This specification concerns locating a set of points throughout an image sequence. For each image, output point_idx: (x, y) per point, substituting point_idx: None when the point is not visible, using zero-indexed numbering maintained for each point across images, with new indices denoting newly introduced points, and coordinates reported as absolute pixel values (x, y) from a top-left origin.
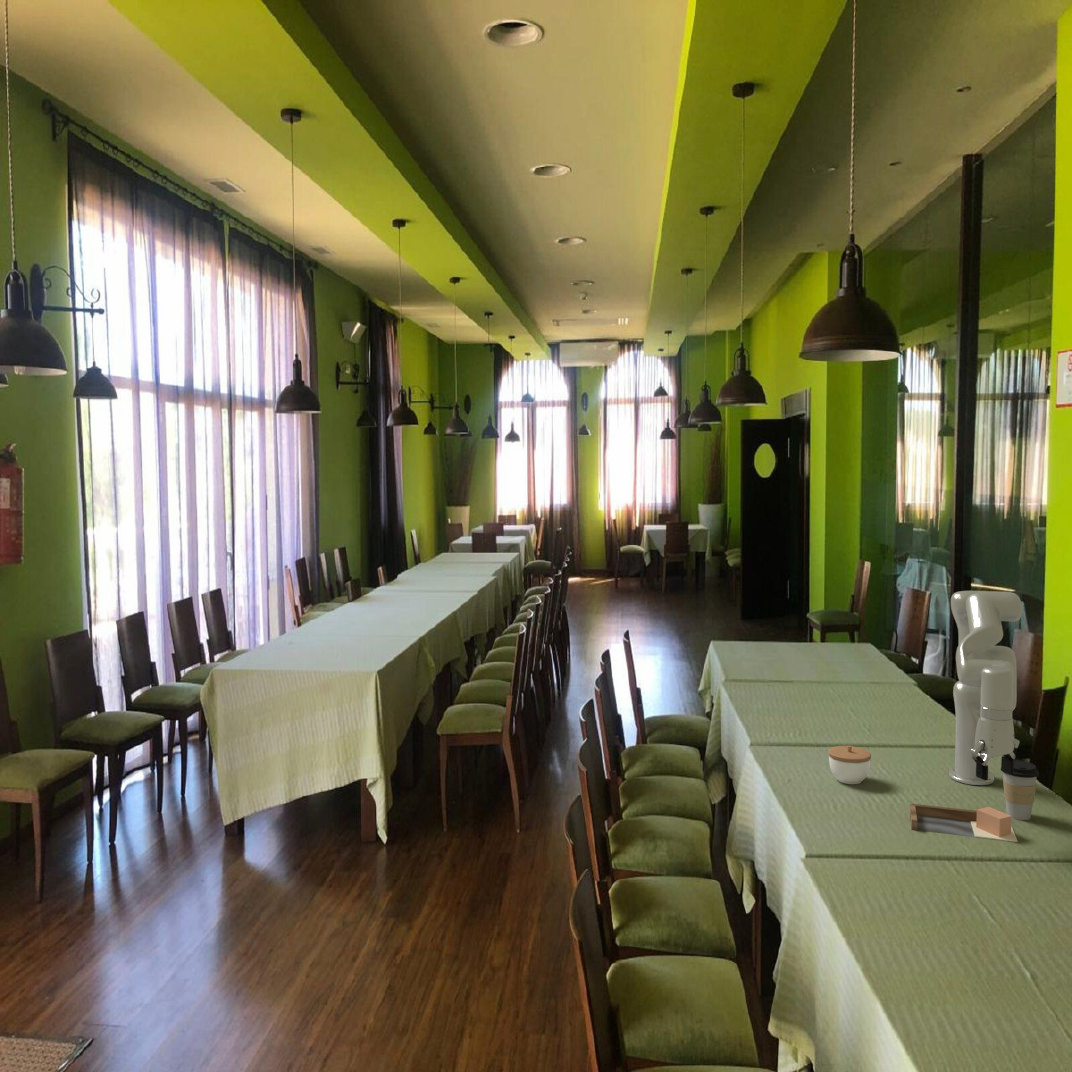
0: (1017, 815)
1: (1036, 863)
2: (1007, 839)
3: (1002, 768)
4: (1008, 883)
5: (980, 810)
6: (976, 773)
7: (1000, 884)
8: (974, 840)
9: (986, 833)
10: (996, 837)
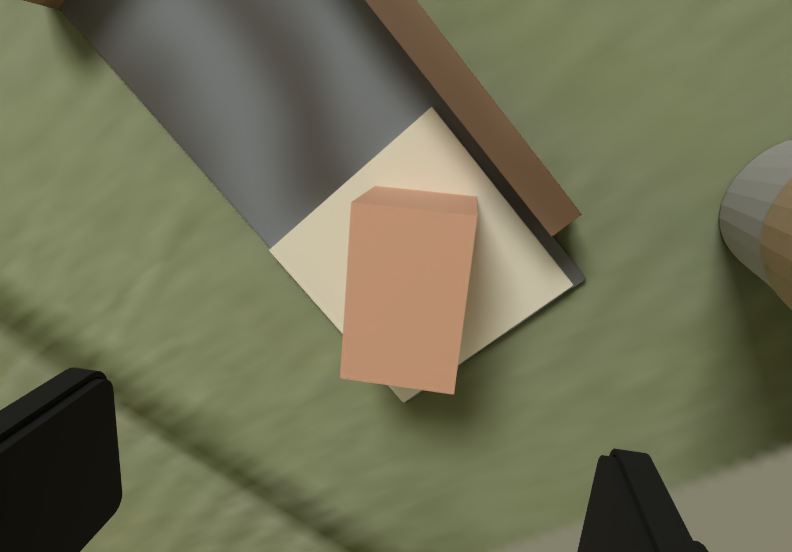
0: (735, 247)
1: (286, 531)
2: None
3: (607, 492)
4: None
5: (358, 227)
6: (43, 392)
7: None
8: (248, 261)
9: None
10: None
